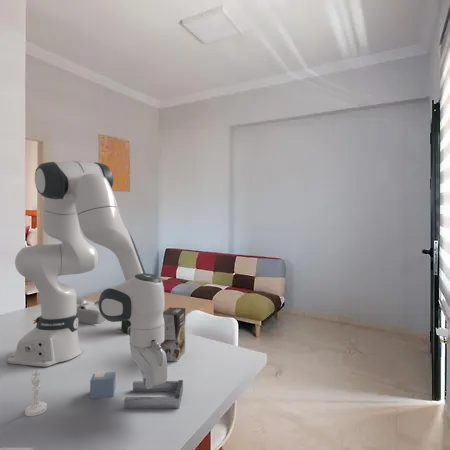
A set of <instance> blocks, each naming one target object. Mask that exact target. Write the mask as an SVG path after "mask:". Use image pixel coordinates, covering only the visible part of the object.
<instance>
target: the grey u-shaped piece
mask: <svg viewBox="0 0 450 450" xmlns="http://www.w3.org/2000/svg"><path fill="white" fill-rule="evenodd" d="M132 392H133V393H135V392H141V393H143V392H144V393H145V392H149V393H150V392H152V393H153V392H160V393H161V392H174V396H125V397H124V400H123V403H124V405H123V406H124V407H123V408H124V409H125V410H127V409H134V410H135V409H138V410H139V409H180V405H181V401H182V396H183V392H184V381H183V379H178V380H173V381H172V380H167V381H166V382H165V383H162V384H158V385H153V387H152V388H150V389H147V388H146V387H145V385H144V384H143V380H142V381H140V380H139V381H135V380H134V381H133V382H132Z"/></svg>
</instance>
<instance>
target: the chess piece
mask: <svg viewBox="0 0 450 450" xmlns="http://www.w3.org/2000/svg"><path fill="white" fill-rule="evenodd" d="M31 376H32V377H33V378H31V380H30V381H31V383H32V387H31V392H33V394H32V395H33V396H32V403H31V404H29V405H28V406H26V408H25V409H24V415H25V416H27V417H35V416H39V415H42V414H43V413H45V411H47V409H48V404H47V403H46V402H43V401H40V393H39V391H40V389H41V388H42V386H41V385H40V382H41V373H40V372H38V370H35V371H34V372H33V373H32V374H31Z"/></svg>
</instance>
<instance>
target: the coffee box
mask: <svg viewBox="0 0 450 450" xmlns="http://www.w3.org/2000/svg"><path fill="white" fill-rule="evenodd" d="M163 318H164V322H165V337H164V342H163V343H161V344H160V346H161V348H162V349H163V350H164V351H165V354H166V358H167V362H175V363H176V362H178V361H179V359H180V358H181V357H182V356H183V354H185V352H186V308H185V307H168V308H167V309H166V310H164V311H163Z"/></svg>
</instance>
